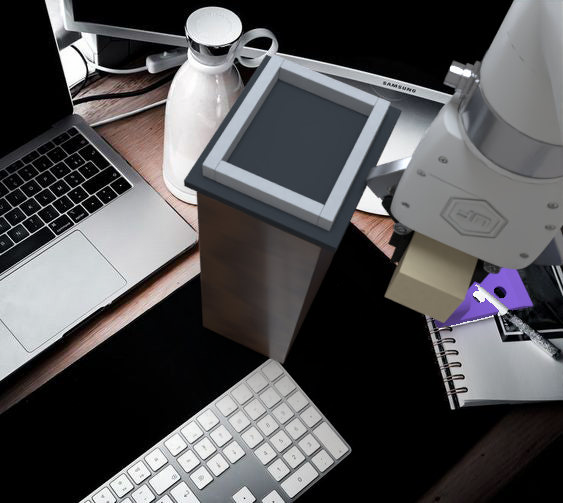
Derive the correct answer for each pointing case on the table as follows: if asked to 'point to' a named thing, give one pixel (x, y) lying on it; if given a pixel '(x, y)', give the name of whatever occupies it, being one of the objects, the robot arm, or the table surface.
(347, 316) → the table surface
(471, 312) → the bracket
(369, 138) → the base pad
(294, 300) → the riser
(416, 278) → the beige rectangular block
